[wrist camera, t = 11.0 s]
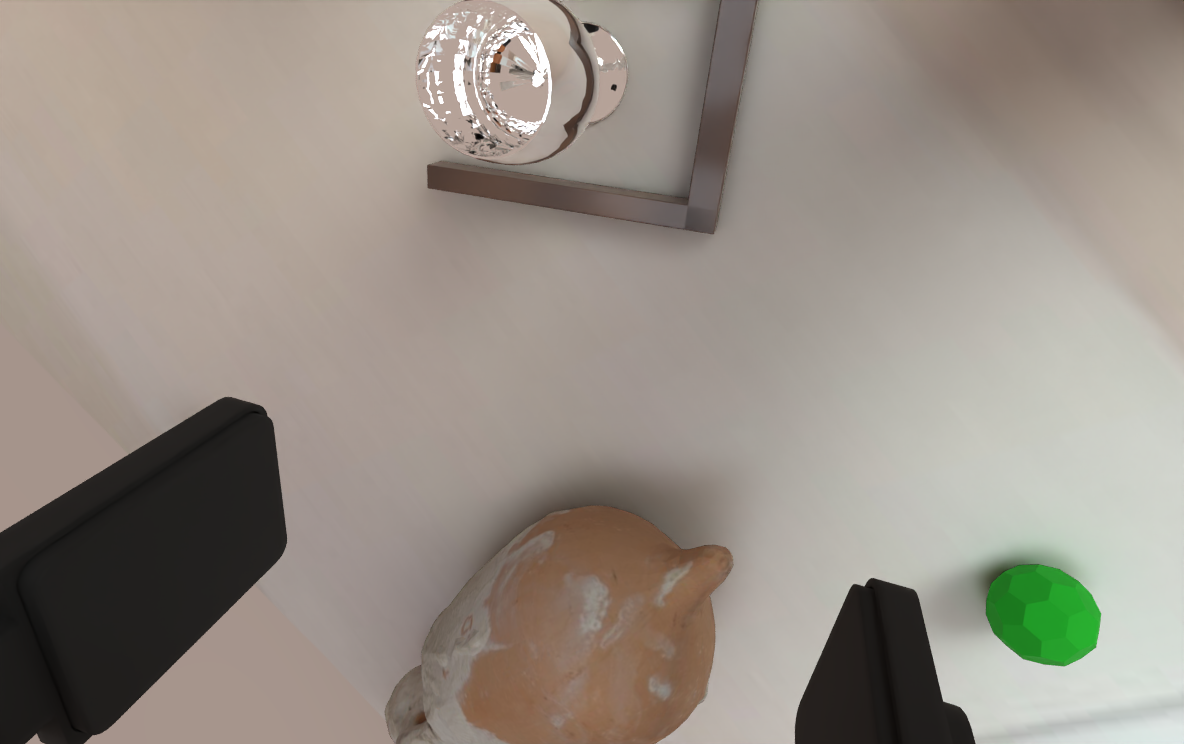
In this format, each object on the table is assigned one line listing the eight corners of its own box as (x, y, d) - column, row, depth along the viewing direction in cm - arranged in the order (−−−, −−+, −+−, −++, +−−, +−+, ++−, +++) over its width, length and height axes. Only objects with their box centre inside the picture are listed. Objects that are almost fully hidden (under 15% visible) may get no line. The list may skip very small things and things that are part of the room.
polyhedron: (992, 623, 38) (1018, 692, 34) (963, 559, 37) (986, 623, 33) (1090, 605, 36) (1131, 676, 32) (1063, 537, 35) (1102, 602, 30)
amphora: (834, 724, 27) (383, 969, 36) (807, 556, 43) (494, 757, 52) (624, 471, 28) (228, 774, 37) (672, 394, 43) (385, 622, 52)
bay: (771, -69, 27) (771, -75, 26) (716, 227, 32) (713, 234, 31) (438, -94, 30) (422, -101, 28) (440, 183, 35) (427, 188, 34)
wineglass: (505, 46, 31) (367, 40, 21) (608, -21, 29) (512, -65, 19) (559, 158, 33) (457, 205, 23) (662, 104, 31) (600, 128, 20)
